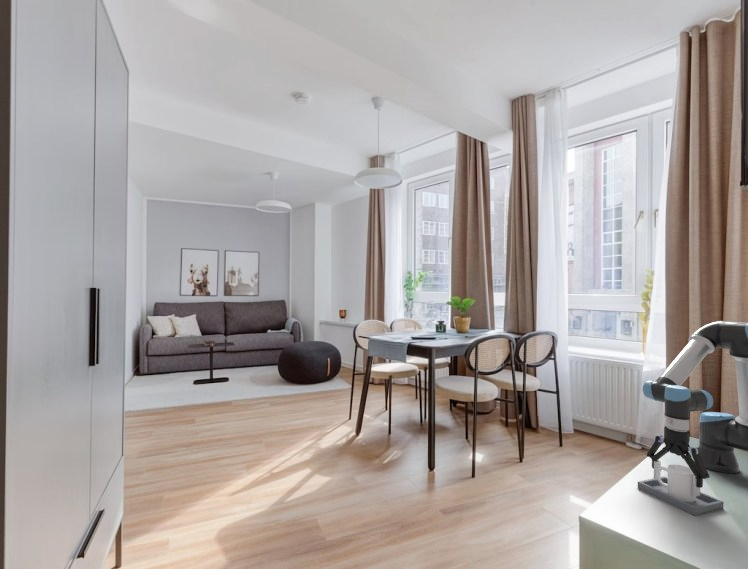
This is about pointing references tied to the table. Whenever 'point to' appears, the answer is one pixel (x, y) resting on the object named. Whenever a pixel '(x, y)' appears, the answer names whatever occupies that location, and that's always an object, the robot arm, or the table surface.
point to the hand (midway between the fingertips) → (675, 486)
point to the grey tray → (696, 508)
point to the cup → (678, 482)
